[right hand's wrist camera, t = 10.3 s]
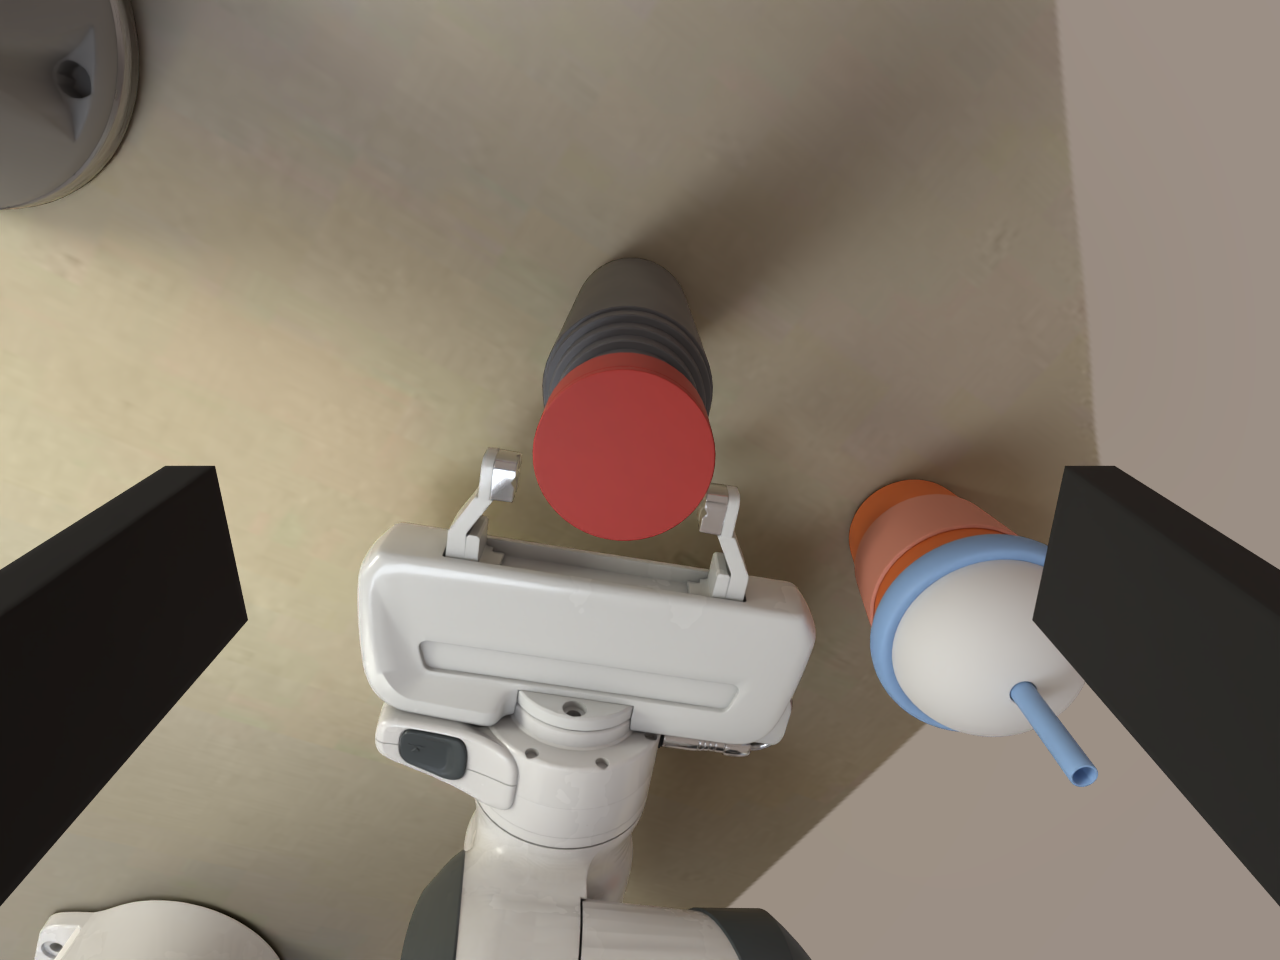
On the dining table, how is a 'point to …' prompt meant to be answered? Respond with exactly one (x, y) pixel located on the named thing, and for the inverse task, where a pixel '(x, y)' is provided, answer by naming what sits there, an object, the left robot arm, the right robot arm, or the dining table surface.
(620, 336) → the bottle
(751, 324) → the dining table surface
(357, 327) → the dining table surface
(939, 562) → the cup with straw
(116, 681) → the right robot arm
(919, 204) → the dining table surface
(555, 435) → the cap
